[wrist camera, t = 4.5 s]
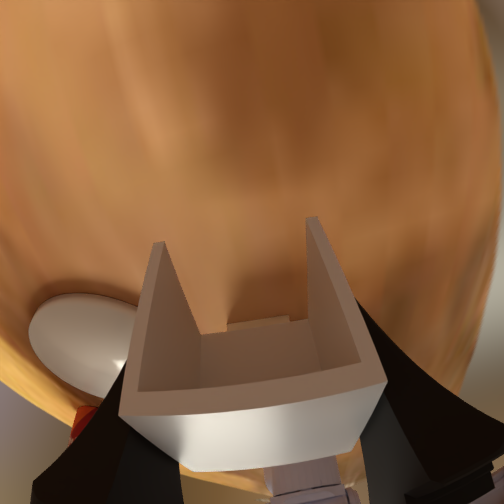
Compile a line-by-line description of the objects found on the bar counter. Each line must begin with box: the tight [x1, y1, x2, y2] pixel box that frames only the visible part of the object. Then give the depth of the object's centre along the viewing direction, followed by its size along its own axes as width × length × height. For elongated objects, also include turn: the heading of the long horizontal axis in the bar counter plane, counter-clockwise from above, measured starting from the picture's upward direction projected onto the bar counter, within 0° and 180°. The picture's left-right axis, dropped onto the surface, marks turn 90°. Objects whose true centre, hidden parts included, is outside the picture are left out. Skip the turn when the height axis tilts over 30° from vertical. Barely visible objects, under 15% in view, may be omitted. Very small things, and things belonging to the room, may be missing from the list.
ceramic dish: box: [29, 293, 138, 398], centre depth 21 cm, size 13×13×1 cm
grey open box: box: [118, 216, 388, 472], centre depth 10 cm, size 6×6×6 cm
